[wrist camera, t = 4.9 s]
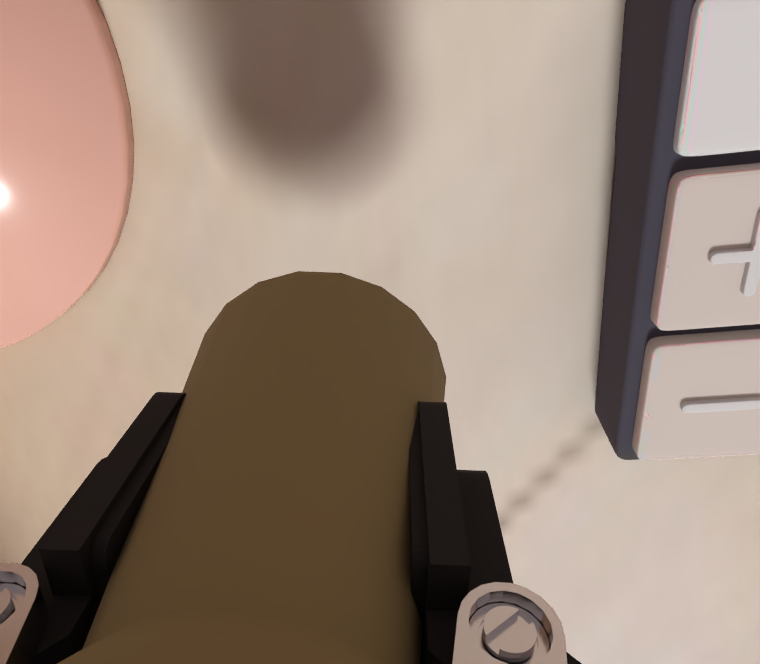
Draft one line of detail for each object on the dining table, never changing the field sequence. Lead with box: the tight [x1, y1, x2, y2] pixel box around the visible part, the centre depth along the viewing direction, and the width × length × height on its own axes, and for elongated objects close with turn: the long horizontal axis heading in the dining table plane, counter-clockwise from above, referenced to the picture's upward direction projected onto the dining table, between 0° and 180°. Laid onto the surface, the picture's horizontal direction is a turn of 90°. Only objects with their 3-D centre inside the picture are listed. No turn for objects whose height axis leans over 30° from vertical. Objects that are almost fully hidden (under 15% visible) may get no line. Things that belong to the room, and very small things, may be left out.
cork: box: [57, 271, 446, 664], centre depth 9 cm, size 6×6×11 cm
